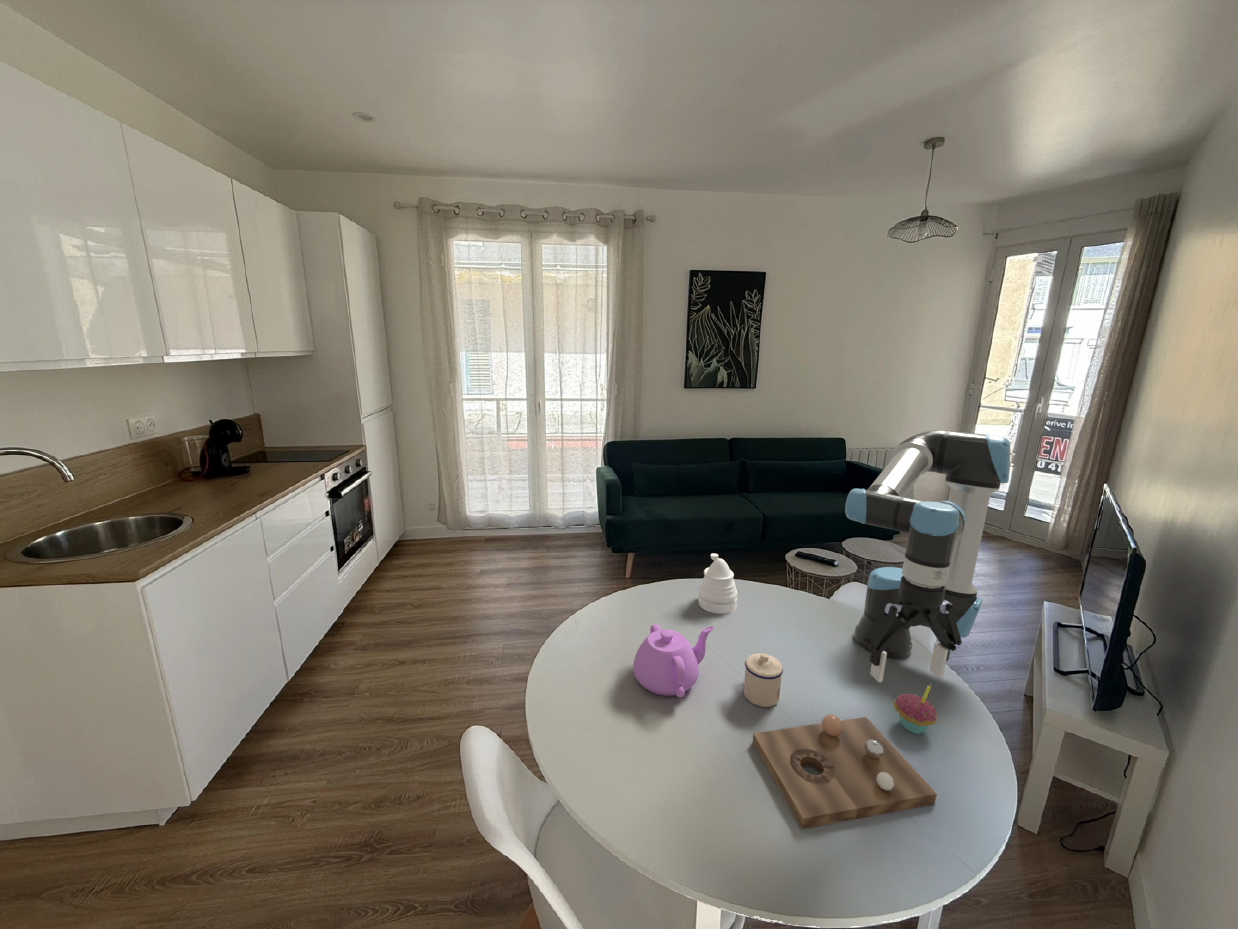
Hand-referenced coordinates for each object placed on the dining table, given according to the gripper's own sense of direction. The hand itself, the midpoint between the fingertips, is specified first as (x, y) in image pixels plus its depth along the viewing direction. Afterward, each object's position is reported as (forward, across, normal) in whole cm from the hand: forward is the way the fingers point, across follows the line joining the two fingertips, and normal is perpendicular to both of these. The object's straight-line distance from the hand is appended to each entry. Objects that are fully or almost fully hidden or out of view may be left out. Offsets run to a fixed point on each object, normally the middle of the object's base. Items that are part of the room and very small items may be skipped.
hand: (906, 676), depth 98 cm
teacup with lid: (+20, -20, +23) cm, 36 cm away
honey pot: (+19, -16, +66) cm, 71 cm away
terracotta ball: (+15, -11, +5) cm, 20 cm away
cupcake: (+20, +11, +8) cm, 24 cm away
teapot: (+20, -40, +31) cm, 55 cm away
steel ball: (+16, -6, -1) cm, 17 cm away
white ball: (+16, -8, -8) cm, 20 cm away
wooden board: (+20, -14, -2) cm, 24 cm away
